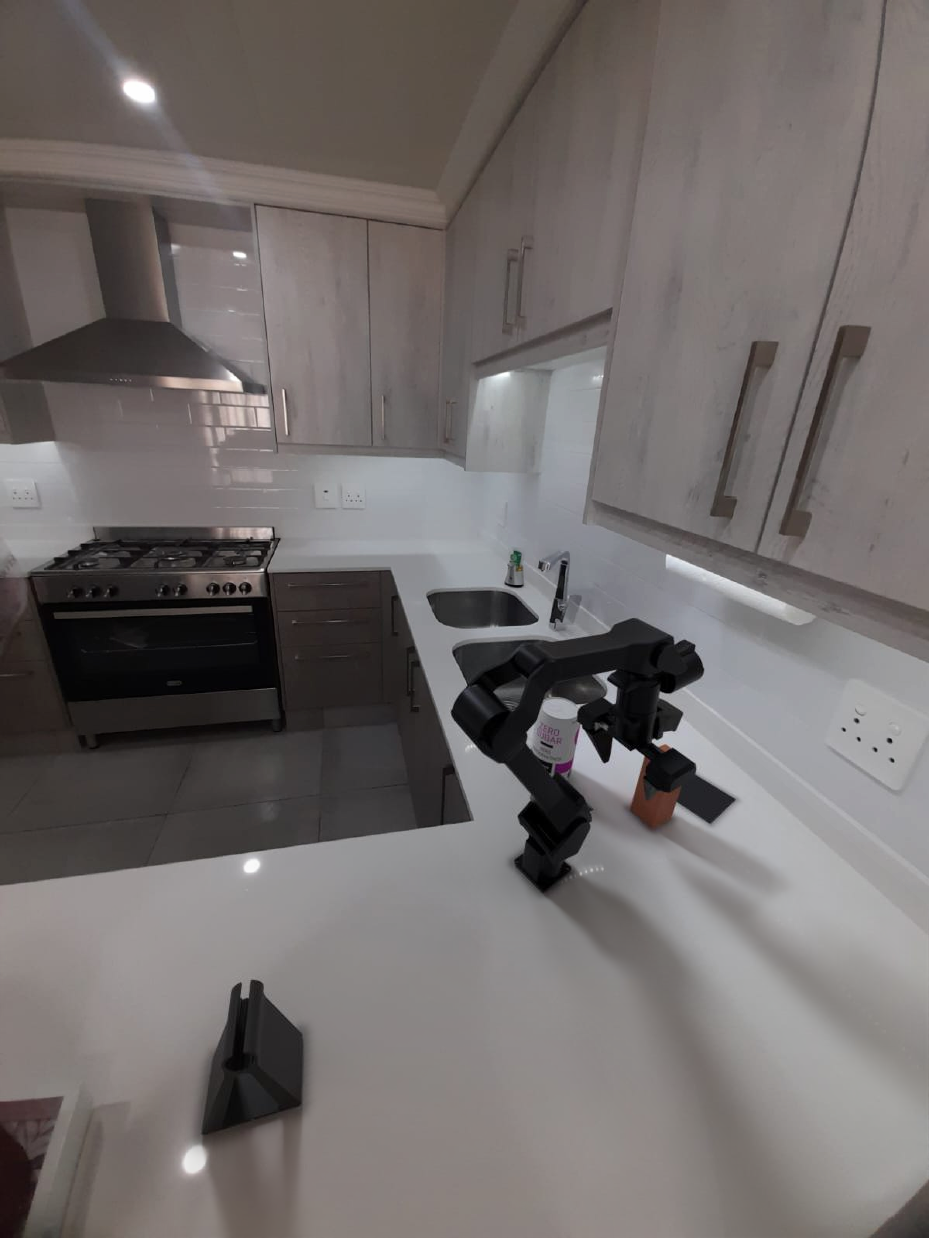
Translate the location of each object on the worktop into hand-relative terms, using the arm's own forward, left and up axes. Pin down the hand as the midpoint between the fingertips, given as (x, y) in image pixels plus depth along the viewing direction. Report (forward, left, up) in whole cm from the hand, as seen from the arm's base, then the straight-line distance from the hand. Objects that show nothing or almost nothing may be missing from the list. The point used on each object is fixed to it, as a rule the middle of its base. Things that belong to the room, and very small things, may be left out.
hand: (626, 779), depth 78 cm
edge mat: (+21, -3, -12) cm, 24 cm away
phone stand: (-58, +2, -12) cm, 59 cm away
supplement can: (+2, +16, -12) cm, 20 cm away
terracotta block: (+9, -2, -12) cm, 15 cm away
